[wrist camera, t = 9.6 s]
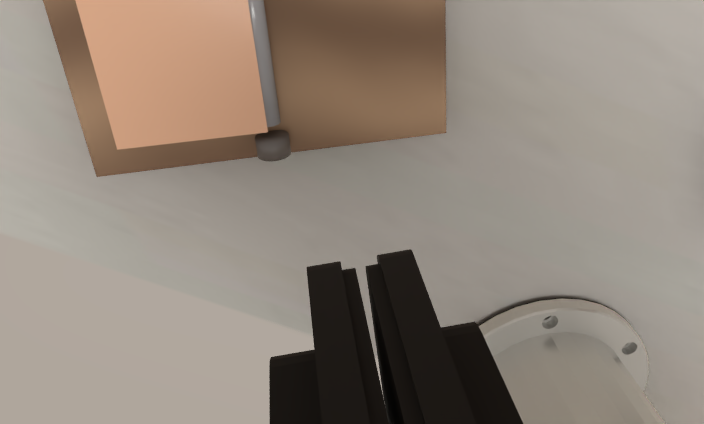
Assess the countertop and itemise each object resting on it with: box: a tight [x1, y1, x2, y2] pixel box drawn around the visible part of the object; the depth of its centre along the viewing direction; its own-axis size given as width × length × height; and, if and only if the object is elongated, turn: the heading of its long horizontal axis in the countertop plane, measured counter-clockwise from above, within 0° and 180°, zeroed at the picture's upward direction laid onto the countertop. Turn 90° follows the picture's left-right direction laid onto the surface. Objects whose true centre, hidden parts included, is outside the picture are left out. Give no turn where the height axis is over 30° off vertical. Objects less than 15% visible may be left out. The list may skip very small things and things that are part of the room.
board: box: [43, 0, 446, 177], centre depth 25 cm, size 11×15×2 cm
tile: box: [75, 0, 281, 150], centre depth 25 cm, size 8×6×1 cm
